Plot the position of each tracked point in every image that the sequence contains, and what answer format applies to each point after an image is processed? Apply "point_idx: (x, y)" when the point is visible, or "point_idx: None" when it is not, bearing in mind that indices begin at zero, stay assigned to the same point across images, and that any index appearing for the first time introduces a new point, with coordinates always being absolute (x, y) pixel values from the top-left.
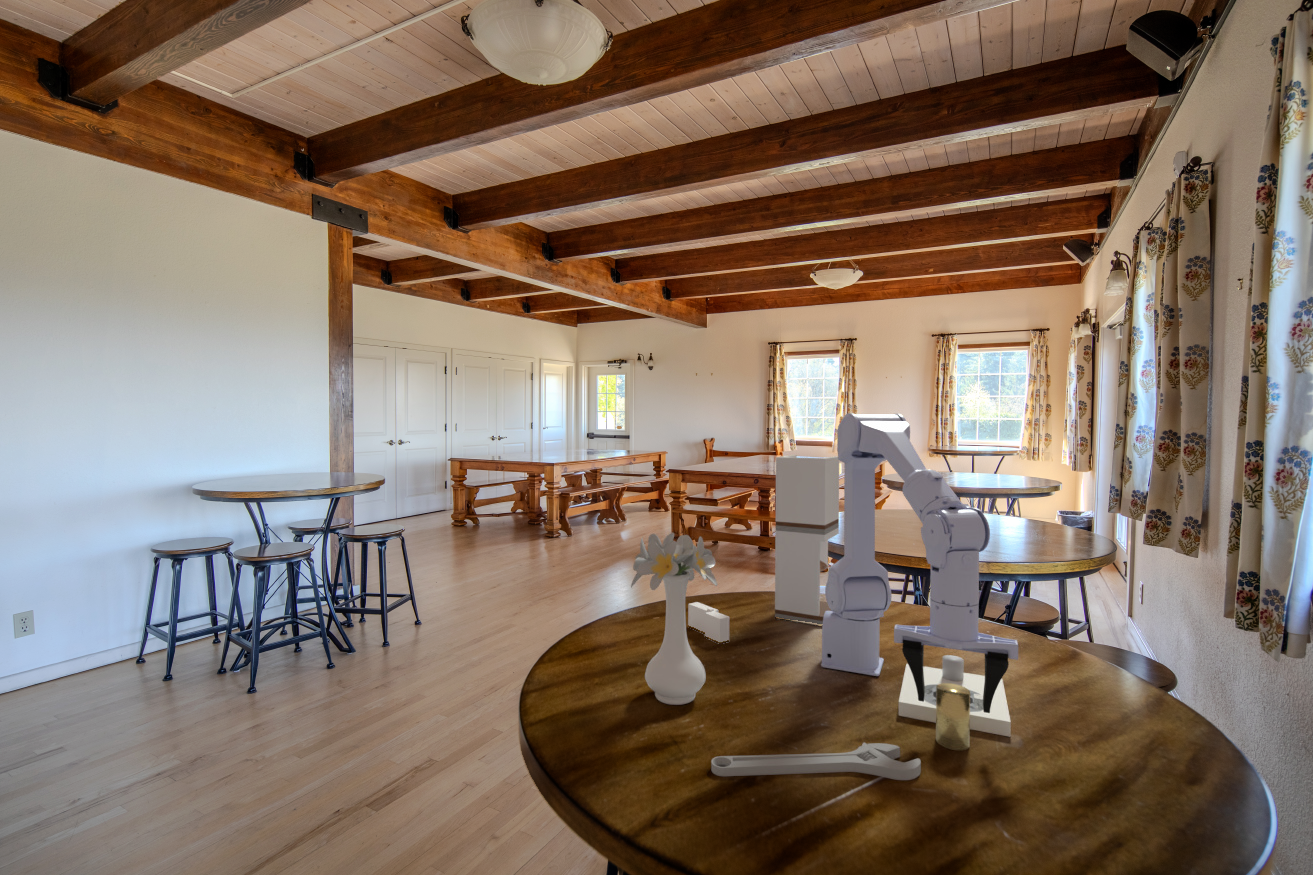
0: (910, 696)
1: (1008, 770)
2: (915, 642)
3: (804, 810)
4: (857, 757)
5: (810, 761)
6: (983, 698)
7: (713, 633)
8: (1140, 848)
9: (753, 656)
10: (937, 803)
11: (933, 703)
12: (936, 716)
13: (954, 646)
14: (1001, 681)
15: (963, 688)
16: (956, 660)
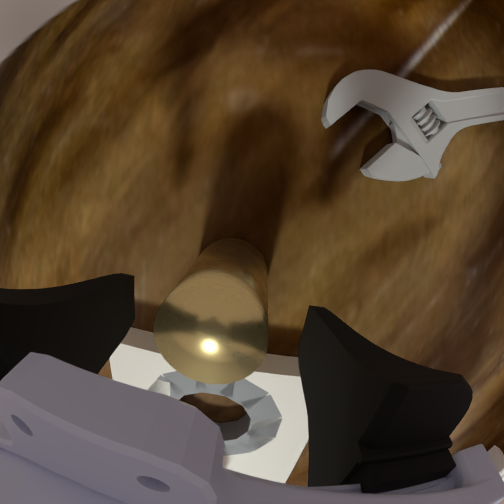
0: (301, 406)
1: (136, 180)
2: (400, 479)
3: (469, 7)
4: (444, 114)
5: (498, 100)
6: (122, 318)
7: (500, 452)
8: (43, 43)
9: (477, 440)
10: (298, 17)
11: (255, 390)
12: (267, 293)
13: (79, 389)
14: None
15: (173, 355)
16: None
